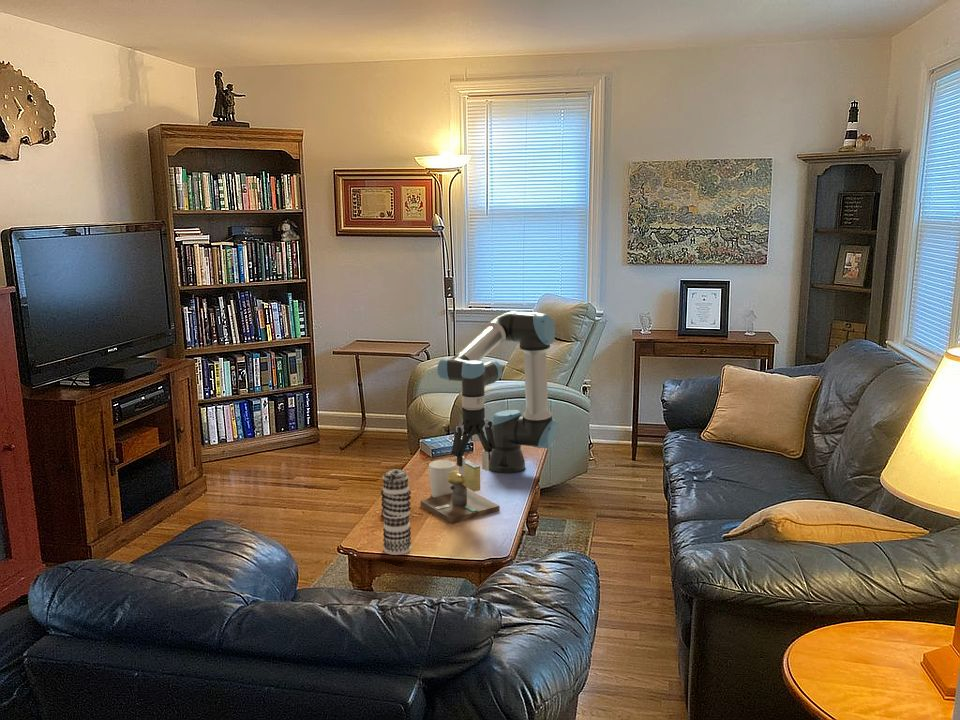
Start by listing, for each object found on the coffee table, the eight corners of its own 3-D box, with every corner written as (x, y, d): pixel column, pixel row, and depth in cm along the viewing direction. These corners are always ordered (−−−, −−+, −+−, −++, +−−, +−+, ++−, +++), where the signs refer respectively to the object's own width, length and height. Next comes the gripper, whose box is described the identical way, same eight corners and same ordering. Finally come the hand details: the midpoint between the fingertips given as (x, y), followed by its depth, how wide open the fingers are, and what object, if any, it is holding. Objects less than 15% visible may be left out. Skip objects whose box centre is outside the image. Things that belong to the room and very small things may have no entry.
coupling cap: (443, 479, 277) (443, 456, 275) (463, 475, 281) (463, 452, 279) (466, 493, 263) (466, 469, 262) (487, 488, 268) (487, 465, 266)
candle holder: (453, 500, 285) (452, 468, 283) (426, 499, 287) (426, 467, 284) (458, 491, 294) (458, 460, 292) (432, 490, 296) (432, 459, 294)
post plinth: (467, 494, 291) (467, 468, 289) (499, 511, 275) (499, 483, 273) (420, 506, 280) (420, 479, 278) (450, 524, 264) (450, 495, 262)
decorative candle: (387, 557, 239) (385, 478, 234) (378, 545, 247) (376, 469, 243) (416, 552, 243) (414, 474, 238) (406, 540, 251) (404, 465, 246)
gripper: (451, 414, 254) (452, 481, 258) (506, 405, 266) (506, 469, 270) (439, 409, 260) (440, 475, 264) (493, 400, 272) (493, 463, 276)
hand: (473, 472), depth 267 cm, fingers open, 9 cm apart
